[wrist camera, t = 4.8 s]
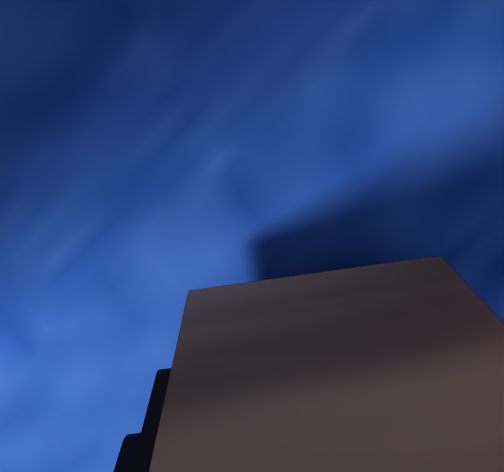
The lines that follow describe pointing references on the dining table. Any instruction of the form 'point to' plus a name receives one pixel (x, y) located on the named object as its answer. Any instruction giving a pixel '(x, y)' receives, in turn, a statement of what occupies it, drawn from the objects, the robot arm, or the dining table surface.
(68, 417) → the dining table surface
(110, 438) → the dining table surface
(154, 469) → the brown block
